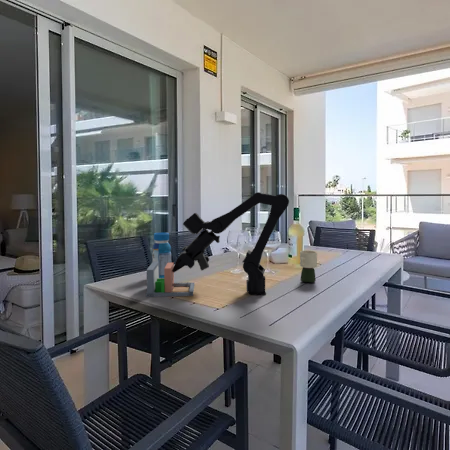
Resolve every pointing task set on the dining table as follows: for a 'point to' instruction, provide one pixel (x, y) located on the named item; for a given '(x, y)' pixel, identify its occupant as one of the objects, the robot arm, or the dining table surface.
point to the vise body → (152, 278)
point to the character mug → (308, 265)
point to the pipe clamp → (160, 285)
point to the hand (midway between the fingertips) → (173, 271)
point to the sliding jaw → (171, 278)
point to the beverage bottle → (161, 251)
